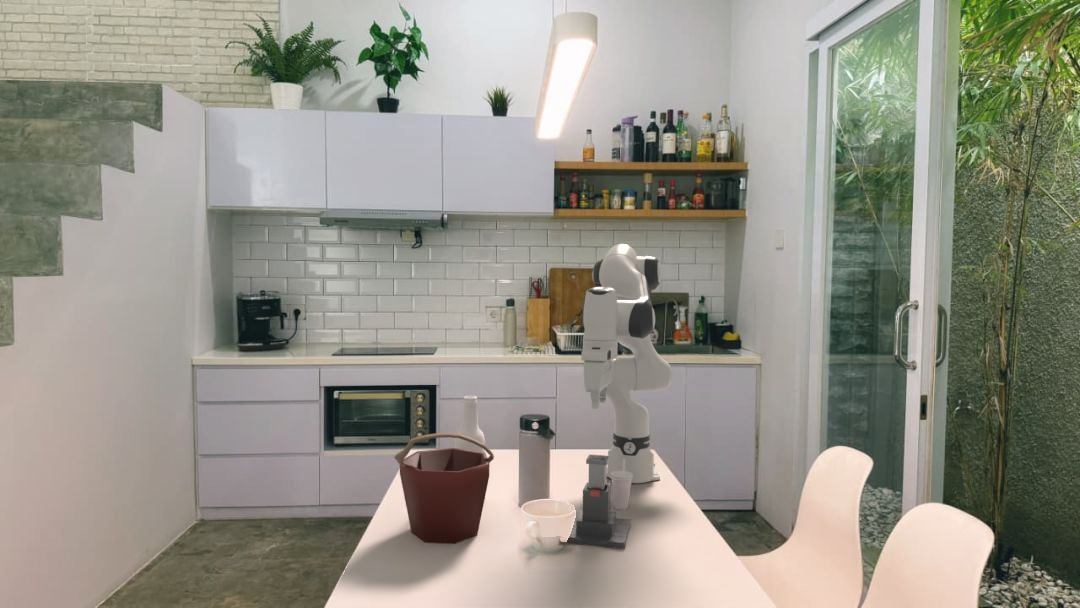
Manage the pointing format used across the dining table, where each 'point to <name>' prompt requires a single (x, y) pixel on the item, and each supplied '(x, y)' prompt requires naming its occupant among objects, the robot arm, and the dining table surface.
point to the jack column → (597, 471)
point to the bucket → (444, 489)
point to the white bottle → (470, 426)
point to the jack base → (599, 522)
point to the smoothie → (621, 487)
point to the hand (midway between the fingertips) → (599, 405)
